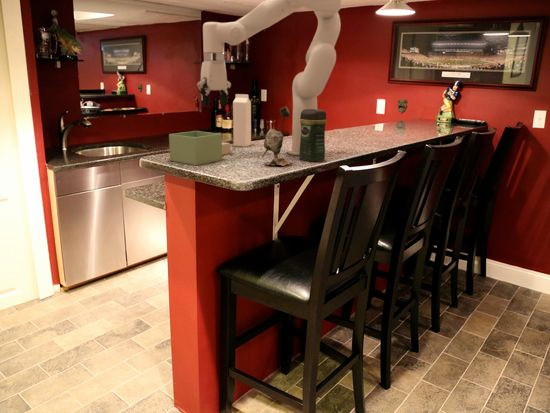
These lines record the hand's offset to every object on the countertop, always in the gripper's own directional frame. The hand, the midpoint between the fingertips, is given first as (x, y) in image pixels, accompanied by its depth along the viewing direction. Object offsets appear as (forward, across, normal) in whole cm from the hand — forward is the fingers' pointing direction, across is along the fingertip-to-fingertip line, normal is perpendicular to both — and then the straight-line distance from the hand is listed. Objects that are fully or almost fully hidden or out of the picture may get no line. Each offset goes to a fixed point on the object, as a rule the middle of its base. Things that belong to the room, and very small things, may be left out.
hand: (215, 106), depth 169 cm
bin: (+19, +13, +2) cm, 23 cm away
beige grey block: (+19, -4, 0) cm, 19 cm away
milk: (+19, -25, -7) cm, 32 cm away
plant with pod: (+19, +2, +30) cm, 35 cm away
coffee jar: (+19, -14, +35) cm, 42 cm away
